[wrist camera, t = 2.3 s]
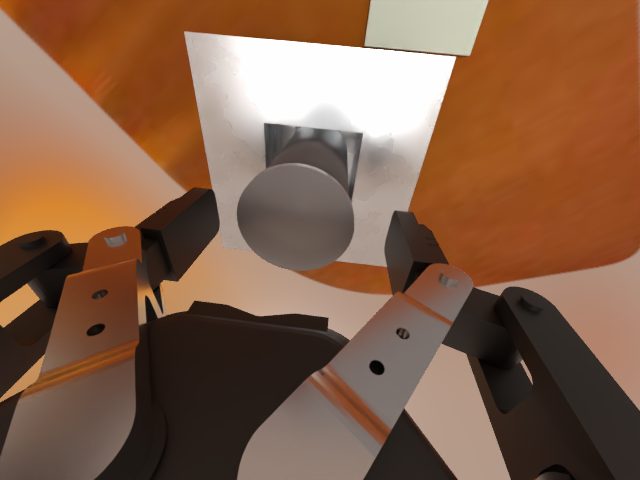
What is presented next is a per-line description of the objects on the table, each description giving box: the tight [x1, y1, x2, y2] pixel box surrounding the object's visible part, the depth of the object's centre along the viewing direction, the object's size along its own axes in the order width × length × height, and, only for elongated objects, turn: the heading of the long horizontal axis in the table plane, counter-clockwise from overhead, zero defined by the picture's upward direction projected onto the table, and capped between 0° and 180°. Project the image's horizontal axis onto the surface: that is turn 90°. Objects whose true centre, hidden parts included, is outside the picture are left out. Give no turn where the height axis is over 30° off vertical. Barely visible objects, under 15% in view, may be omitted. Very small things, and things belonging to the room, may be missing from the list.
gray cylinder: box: [237, 127, 354, 271], centre depth 15 cm, size 5×5×11 cm
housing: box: [184, 32, 456, 267], centre depth 18 cm, size 13×13×7 cm
